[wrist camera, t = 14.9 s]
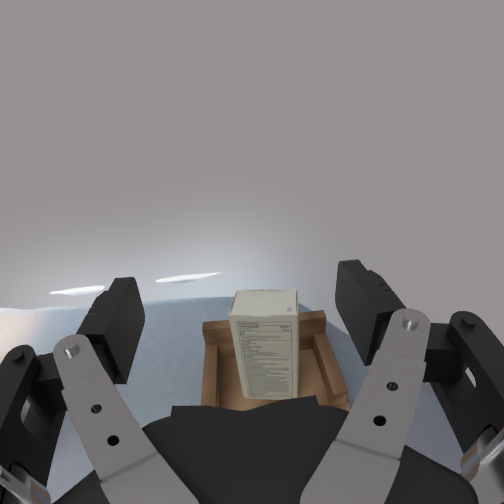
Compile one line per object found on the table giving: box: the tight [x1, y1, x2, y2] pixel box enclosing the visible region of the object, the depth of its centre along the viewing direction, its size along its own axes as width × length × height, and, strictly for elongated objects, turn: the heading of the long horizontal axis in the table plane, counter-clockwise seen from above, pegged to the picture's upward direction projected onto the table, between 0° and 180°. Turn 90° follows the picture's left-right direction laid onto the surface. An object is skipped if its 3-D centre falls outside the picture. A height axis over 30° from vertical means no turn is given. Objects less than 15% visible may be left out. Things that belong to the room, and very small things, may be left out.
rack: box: [201, 310, 351, 412], centre depth 33 cm, size 16×14×6 cm
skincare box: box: [228, 289, 299, 400], centre depth 31 cm, size 6×4×12 cm
